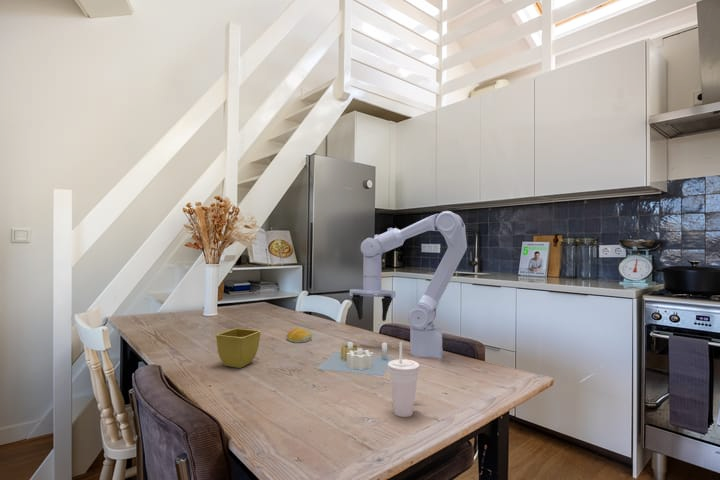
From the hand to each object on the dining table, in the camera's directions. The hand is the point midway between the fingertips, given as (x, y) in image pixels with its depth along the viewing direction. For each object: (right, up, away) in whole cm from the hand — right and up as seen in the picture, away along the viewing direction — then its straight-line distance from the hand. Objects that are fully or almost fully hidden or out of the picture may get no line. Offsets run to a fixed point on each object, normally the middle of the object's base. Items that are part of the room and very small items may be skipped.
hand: (372, 319), depth 118 cm
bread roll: (-25, -11, +14) cm, 31 cm away
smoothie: (+5, -10, -43) cm, 45 cm away
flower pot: (-38, -10, -14) cm, 41 cm away
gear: (-4, -8, -18) cm, 20 cm away
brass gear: (-6, -9, -12) cm, 16 cm away
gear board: (-5, -10, -15) cm, 19 cm away
